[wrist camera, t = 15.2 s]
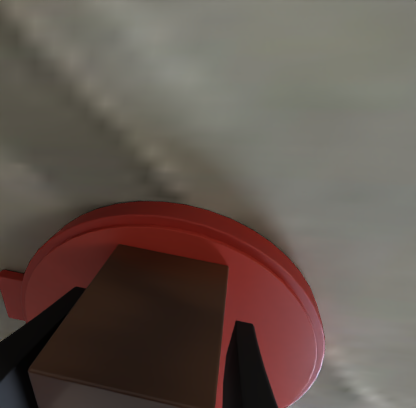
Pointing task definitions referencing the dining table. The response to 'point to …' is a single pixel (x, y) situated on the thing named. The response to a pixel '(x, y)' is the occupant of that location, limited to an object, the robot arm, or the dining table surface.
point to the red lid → (196, 249)
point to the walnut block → (138, 336)
